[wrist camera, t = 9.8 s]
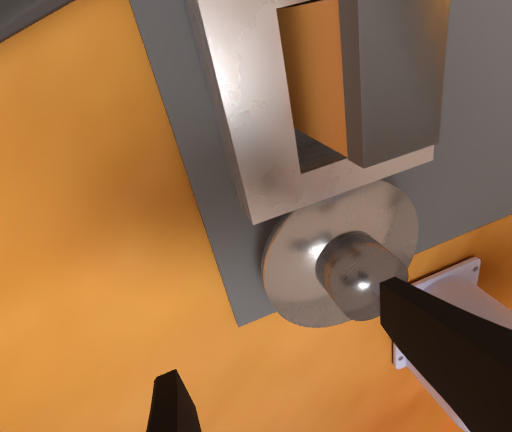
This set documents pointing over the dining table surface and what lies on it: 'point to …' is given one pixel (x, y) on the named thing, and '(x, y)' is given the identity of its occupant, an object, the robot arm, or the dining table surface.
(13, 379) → the dining table surface
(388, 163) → the scaffold node
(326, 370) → the dining table surface
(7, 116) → the dining table surface
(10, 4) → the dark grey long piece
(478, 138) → the site mat
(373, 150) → the orange grey two-tone block
